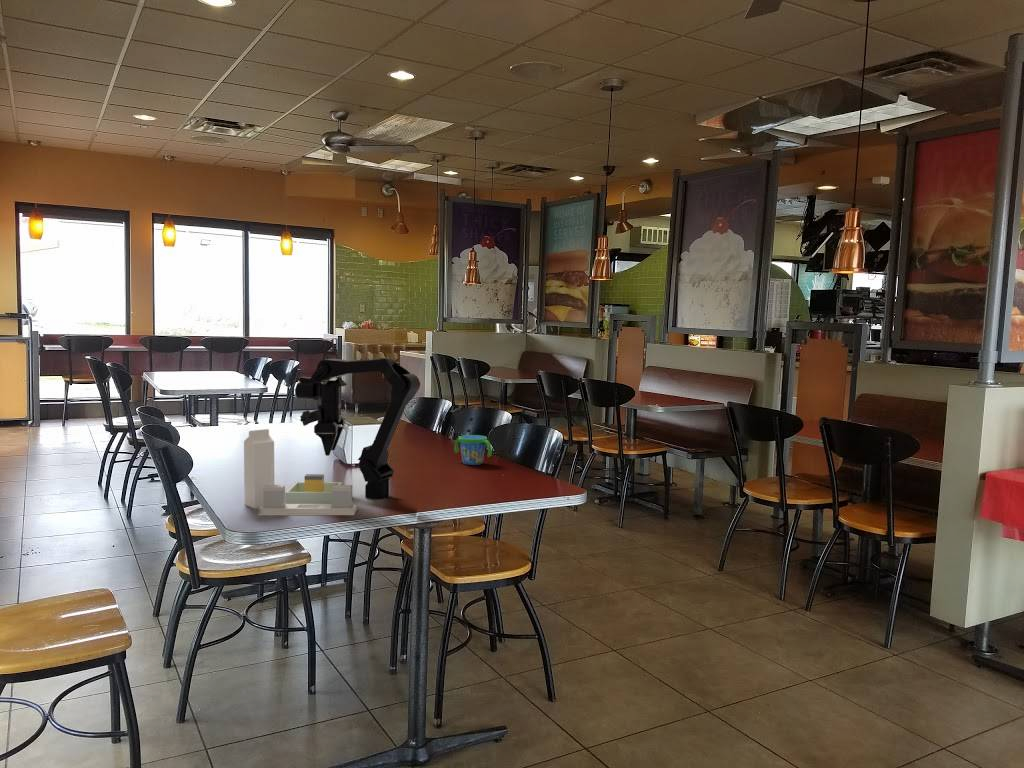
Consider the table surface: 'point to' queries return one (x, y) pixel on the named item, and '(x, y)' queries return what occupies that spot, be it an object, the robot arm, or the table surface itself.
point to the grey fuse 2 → (342, 496)
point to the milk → (258, 466)
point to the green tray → (309, 494)
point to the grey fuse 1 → (274, 496)
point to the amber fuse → (314, 483)
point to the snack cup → (472, 448)
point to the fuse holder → (307, 510)
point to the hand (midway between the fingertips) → (330, 452)
